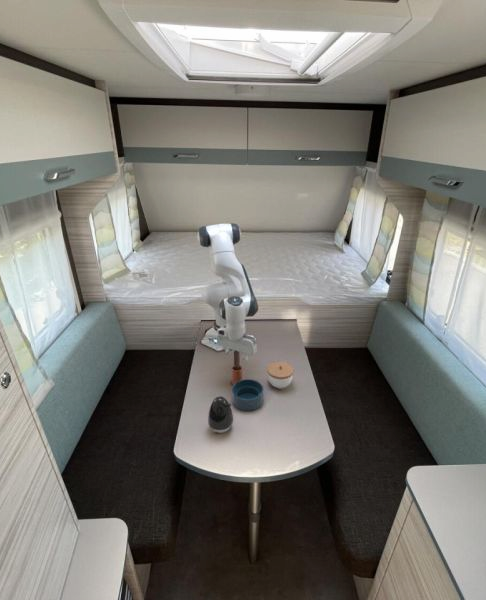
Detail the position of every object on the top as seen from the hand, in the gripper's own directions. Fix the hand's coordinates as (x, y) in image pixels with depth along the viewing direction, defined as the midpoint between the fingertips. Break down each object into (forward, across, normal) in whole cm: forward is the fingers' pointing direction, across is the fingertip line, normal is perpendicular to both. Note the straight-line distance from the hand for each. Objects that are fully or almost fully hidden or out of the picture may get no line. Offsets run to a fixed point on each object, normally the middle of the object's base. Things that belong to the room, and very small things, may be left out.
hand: (236, 357), depth 155 cm
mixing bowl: (+15, -11, +9) cm, 21 cm away
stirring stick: (+15, 0, 0) cm, 15 cm away
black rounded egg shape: (+16, -9, +28) cm, 33 cm away
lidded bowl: (+15, -19, -9) cm, 26 cm away
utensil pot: (+15, 0, 0) cm, 15 cm away
